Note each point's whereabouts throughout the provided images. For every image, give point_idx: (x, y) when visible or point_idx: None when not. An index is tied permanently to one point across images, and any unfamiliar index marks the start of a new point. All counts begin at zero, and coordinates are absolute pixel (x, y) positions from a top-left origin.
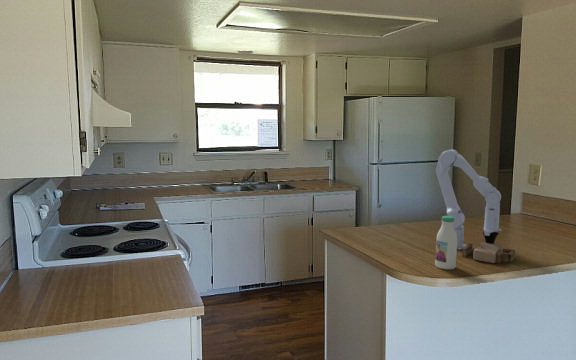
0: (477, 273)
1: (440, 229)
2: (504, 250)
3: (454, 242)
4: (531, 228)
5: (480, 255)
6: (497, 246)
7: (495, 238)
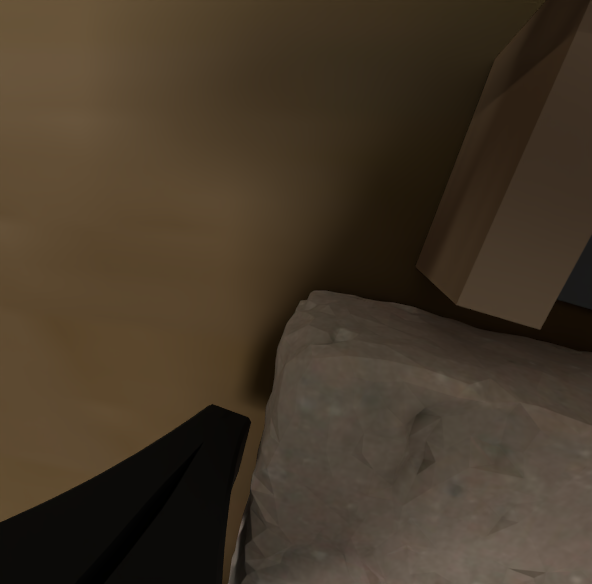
0: None
1: None
2: (548, 267)
3: None
4: None
5: None
6: (413, 438)
7: (60, 580)
